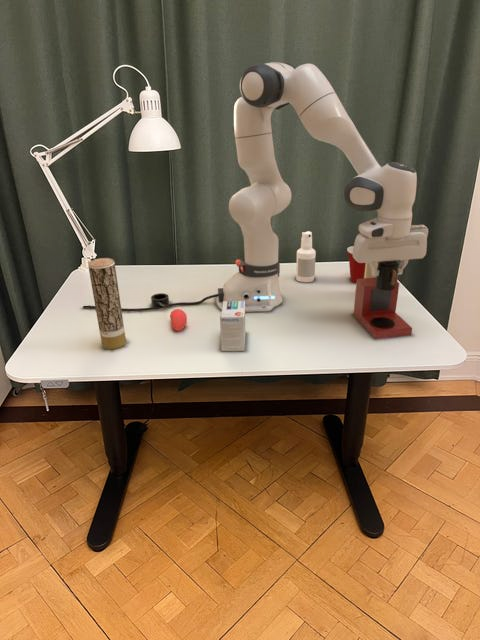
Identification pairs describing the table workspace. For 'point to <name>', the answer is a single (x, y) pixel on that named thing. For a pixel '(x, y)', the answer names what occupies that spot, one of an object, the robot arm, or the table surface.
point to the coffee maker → (364, 298)
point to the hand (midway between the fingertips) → (386, 274)
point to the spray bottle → (305, 259)
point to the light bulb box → (232, 326)
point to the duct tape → (160, 300)
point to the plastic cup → (355, 267)
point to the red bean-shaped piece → (178, 319)
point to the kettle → (387, 275)
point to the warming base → (384, 318)
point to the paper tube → (107, 302)
